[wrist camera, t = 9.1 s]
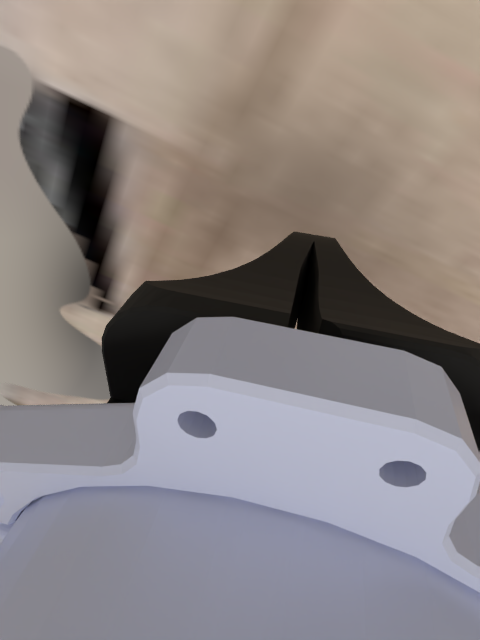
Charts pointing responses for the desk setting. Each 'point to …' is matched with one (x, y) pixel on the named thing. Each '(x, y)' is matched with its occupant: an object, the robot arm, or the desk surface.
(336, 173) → the desk surface
